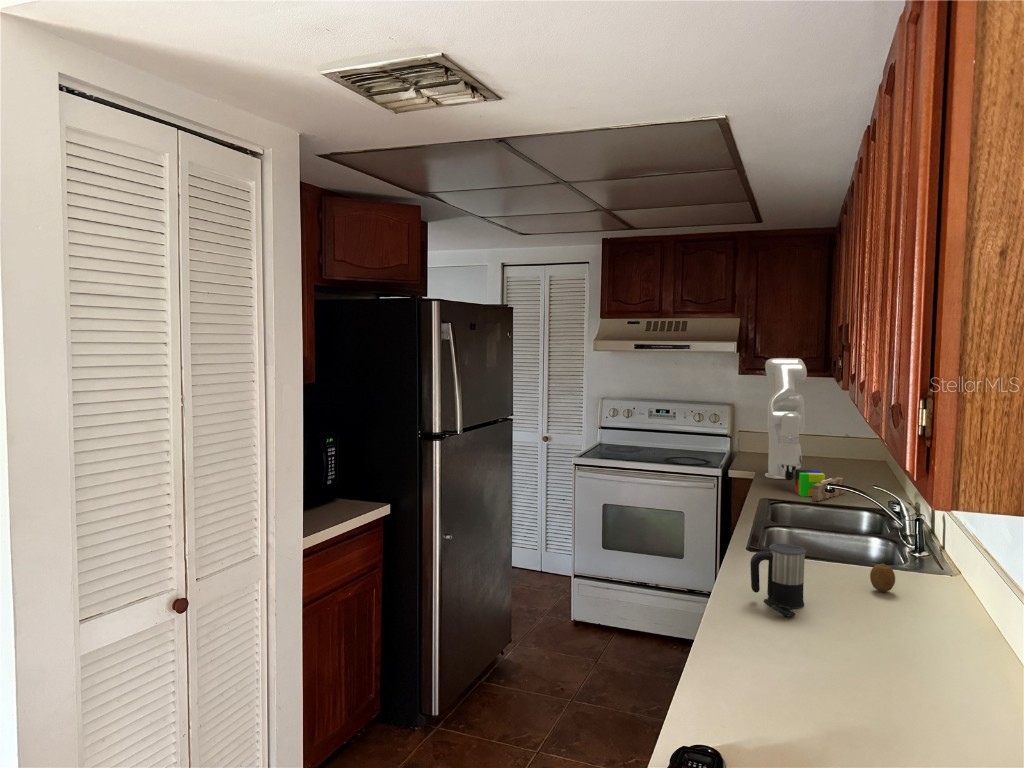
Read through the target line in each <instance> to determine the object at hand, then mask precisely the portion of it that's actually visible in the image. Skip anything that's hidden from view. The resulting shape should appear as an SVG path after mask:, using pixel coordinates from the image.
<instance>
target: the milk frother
mask: <svg viewBox="0 0 1024 768" xmlns="http://www.w3.org/2000/svg"><path fill="white" fill-rule="evenodd" d="M768 547H769V551H767V550H760V551H757V552H756V553H754V554H753V555H752V556H751V558H750V565H749V566H750V585H751V590H752V592H754V593H759V592H760V588H761V587H760V563H761V562H763V561H768V566H767V588H766V589H767V593H766V594H767V598H764V599H763V603H764V604H765V605H766V606H768V607H770V608H771V609H773V610H775V611H776V612H777V613H779V614H780V615H783V616H784V617H785V618H787V617H788V616H789V617H795V615H796V613H795V612H796V611H794V610H793V609H799V608H803V607H804V605H805V602H804V584H805V583H804V581H805V559H806V558H805V556H806V552H807V549H806V548H804V547H802V546H801V545H800V546H799V545H795V544H791V543H774V544H770V545H769V546H768Z"/></svg>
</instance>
